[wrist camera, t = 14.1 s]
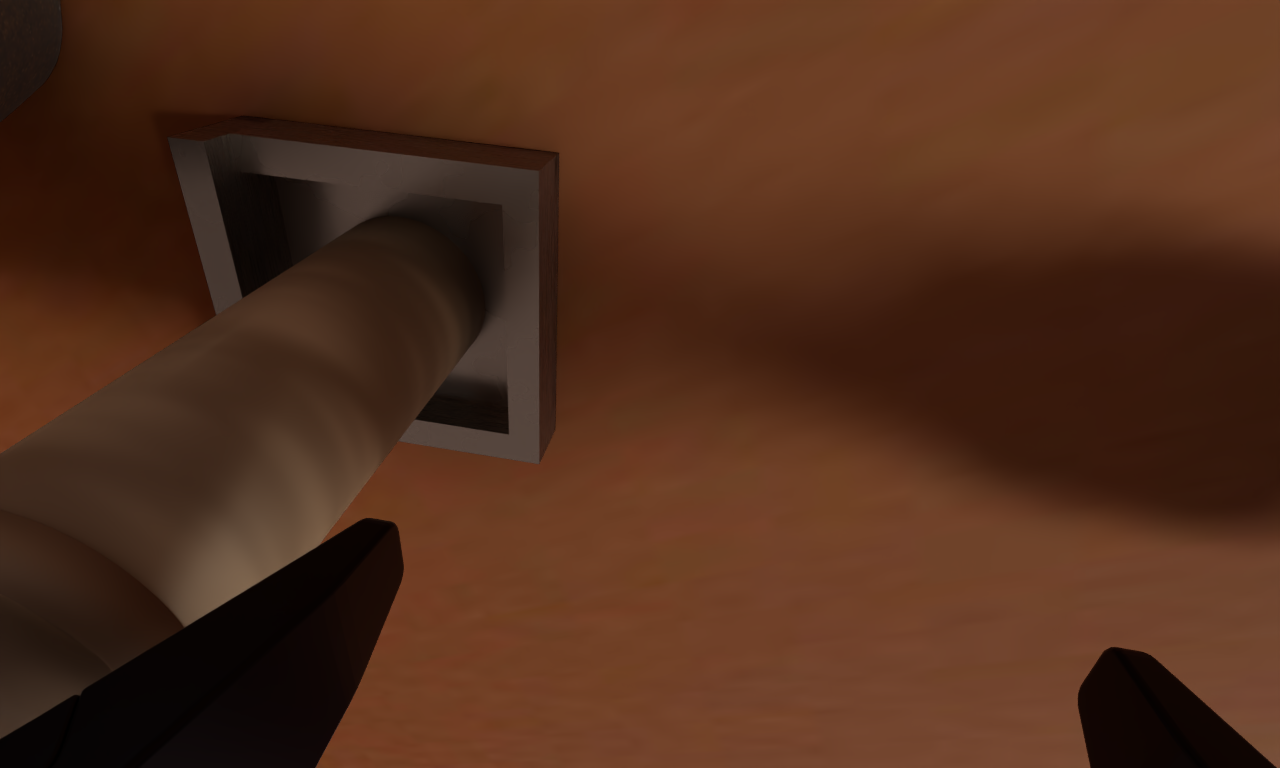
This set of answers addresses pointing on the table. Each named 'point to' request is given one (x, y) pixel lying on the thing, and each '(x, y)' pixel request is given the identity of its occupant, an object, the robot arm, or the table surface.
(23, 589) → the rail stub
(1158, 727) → the robot arm
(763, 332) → the table surface
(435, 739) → the table surface
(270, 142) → the grey tray
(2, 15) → the plant pot
